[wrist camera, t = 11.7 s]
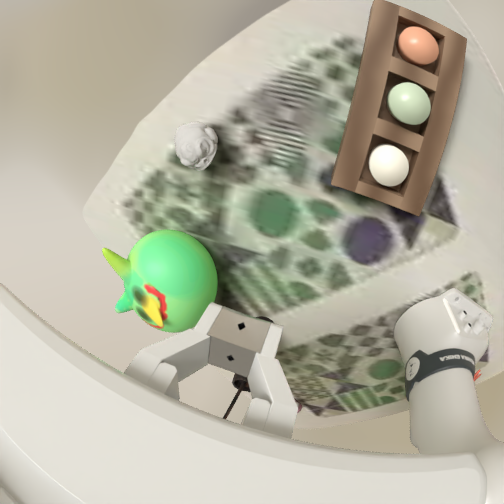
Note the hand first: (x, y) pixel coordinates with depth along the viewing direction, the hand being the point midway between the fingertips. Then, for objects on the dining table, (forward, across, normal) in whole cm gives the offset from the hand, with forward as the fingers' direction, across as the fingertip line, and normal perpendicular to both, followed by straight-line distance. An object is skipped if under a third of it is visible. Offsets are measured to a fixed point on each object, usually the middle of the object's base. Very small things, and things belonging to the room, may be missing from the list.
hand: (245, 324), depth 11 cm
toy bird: (+29, +17, +22) cm, 40 cm away
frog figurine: (+29, +15, 0) cm, 33 cm away
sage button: (+26, -9, -12) cm, 30 cm away
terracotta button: (+27, -9, -20) cm, 35 cm away
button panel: (+29, -9, -12) cm, 33 cm away
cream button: (+27, -9, -4) cm, 29 cm away
